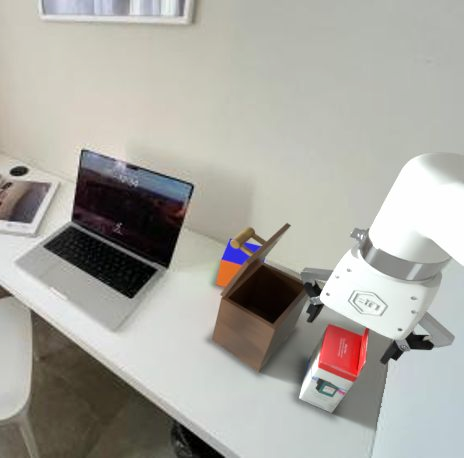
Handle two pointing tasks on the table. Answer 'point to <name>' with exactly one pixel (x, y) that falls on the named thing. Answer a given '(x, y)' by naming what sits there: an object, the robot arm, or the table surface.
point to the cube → (233, 262)
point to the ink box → (334, 367)
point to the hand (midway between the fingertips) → (347, 336)
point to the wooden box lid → (251, 253)
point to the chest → (259, 314)
